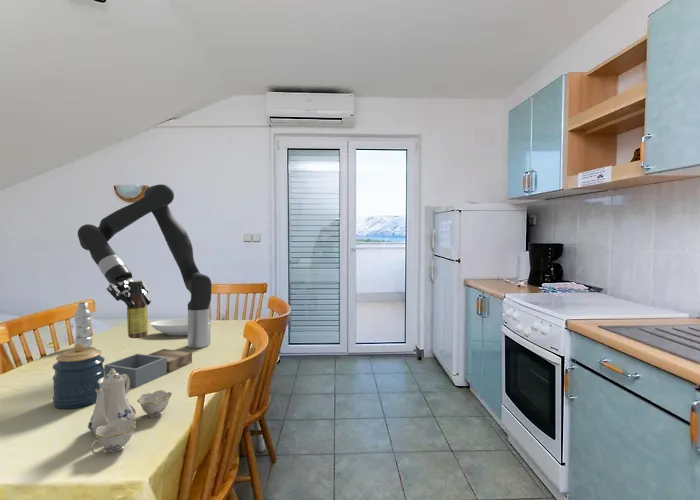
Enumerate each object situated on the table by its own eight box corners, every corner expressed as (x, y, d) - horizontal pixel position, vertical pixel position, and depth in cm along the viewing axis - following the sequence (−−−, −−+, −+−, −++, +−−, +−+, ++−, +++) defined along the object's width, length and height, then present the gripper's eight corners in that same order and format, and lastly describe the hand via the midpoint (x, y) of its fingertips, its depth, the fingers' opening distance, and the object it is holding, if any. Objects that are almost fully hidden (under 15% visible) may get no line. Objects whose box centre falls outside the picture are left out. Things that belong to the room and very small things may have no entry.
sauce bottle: (151, 335, 137) (151, 280, 136) (135, 340, 131) (135, 282, 130) (139, 333, 140) (138, 279, 139) (123, 337, 134) (122, 281, 133)
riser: (163, 358, 157) (163, 348, 157) (191, 362, 153) (191, 352, 152) (139, 368, 145) (139, 357, 145) (169, 372, 141) (169, 361, 141)
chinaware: (127, 467, 87) (135, 395, 86) (50, 462, 85) (57, 389, 85) (175, 410, 114) (181, 356, 114) (117, 406, 113) (123, 351, 113)
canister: (48, 413, 108) (47, 351, 107) (58, 396, 119) (57, 340, 119) (102, 404, 114) (102, 346, 113) (107, 389, 125) (106, 336, 125)
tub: (137, 369, 144) (137, 353, 144) (166, 373, 140) (166, 357, 140) (104, 382, 131) (104, 365, 131) (135, 387, 127) (135, 369, 127)
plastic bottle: (83, 350, 166) (83, 304, 165) (70, 349, 167) (70, 303, 166) (96, 346, 172) (95, 302, 171) (83, 345, 174) (83, 301, 173)
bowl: (214, 328, 207) (214, 317, 207) (211, 335, 193) (211, 324, 193) (153, 331, 200) (153, 320, 199) (146, 339, 185) (146, 326, 185)
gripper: (102, 264, 130) (129, 301, 127) (137, 262, 144) (162, 295, 141) (90, 279, 132) (117, 316, 129) (126, 275, 145) (151, 308, 142)
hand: (141, 305), depth 135 cm, fingers closed on sauce bottle, 6 cm apart
